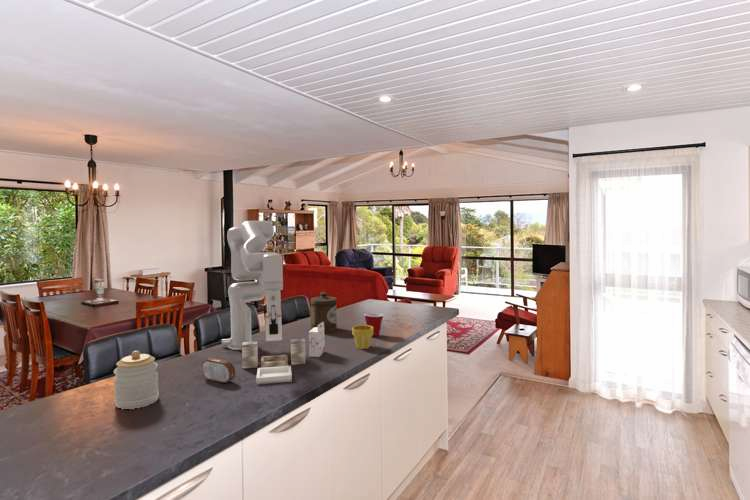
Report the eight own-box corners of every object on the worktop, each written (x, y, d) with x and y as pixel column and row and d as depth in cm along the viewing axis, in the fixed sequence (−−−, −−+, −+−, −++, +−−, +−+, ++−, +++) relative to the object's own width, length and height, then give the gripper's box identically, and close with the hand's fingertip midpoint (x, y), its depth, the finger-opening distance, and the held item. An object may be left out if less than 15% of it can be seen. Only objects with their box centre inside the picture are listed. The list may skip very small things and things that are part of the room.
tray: (256, 384, 156) (256, 378, 155) (257, 374, 166) (257, 368, 166) (291, 381, 159) (291, 375, 158) (290, 371, 169) (290, 365, 169)
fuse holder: (242, 370, 171) (241, 346, 170) (243, 363, 179) (243, 340, 179) (305, 365, 177) (305, 342, 176) (304, 358, 185) (304, 336, 185)
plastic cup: (387, 334, 226) (387, 313, 225) (377, 339, 216) (377, 316, 216) (370, 332, 231) (370, 310, 231) (359, 336, 222) (359, 314, 222)
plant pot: (364, 351, 196) (364, 331, 195) (347, 347, 202) (347, 327, 202) (377, 346, 204) (377, 326, 204) (361, 342, 210) (361, 323, 210)
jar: (127, 414, 131) (125, 359, 130) (107, 404, 138) (105, 352, 137) (167, 399, 142) (165, 348, 141) (146, 391, 149) (144, 343, 148)
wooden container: (335, 333, 229) (334, 293, 228) (308, 333, 229) (308, 293, 228) (337, 326, 244) (337, 289, 243) (312, 326, 244) (312, 289, 243)
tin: (236, 382, 158) (235, 360, 157) (230, 385, 155) (229, 363, 154) (207, 376, 164) (206, 355, 164) (200, 379, 161) (200, 358, 161)
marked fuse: (265, 341, 159) (265, 315, 158) (266, 338, 163) (265, 313, 162) (281, 340, 160) (281, 314, 159) (281, 337, 164) (281, 312, 163)
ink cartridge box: (314, 351, 197) (314, 320, 196) (324, 351, 196) (324, 321, 195) (308, 356, 188) (308, 324, 187) (318, 357, 187) (318, 325, 186)
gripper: (283, 288, 153) (284, 337, 154) (282, 282, 169) (283, 327, 170) (262, 289, 151) (263, 338, 152) (263, 283, 167) (264, 328, 168)
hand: (273, 332), depth 161 cm, fingers closed on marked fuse, 4 cm apart
